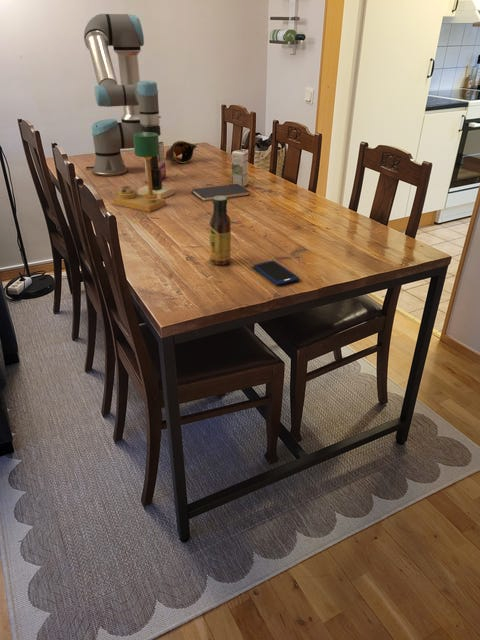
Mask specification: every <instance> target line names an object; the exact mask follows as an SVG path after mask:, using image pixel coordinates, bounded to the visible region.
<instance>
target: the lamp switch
mask: <svg viewBox="0 0 480 640" xmlns="http://www.w3.org/2000/svg"><path fill="white" fill-rule="evenodd" d="M132 190H133V187H132V186H130V185H129V186H122V187H121V191H122V194H131V193H132Z"/></svg>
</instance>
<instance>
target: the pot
mask: <svg viewBox="0 0 480 640" xmlns="http://www.w3.org/2000/svg"><path fill="white" fill-rule="evenodd" d="M197 146H199V143H191V142H187V141H184V140H178V141H175V142H173V143H172V145H171V146H170V148H168V149H167V150H166V152H165V158H166V159H169V160H170V161H172V162H174V161H176V162H177V163H179V164H185V163H189V162H190V161H191V160H192V158H193V156H194V150H195V149H196V148H197ZM179 156H181V159H177V157H179Z"/></svg>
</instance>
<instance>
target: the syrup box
mask: <svg viewBox="0 0 480 640" xmlns="http://www.w3.org/2000/svg"><path fill="white" fill-rule="evenodd" d="M231 184H239V185H240V186H242V187H244V188H245V187H246V186H247V185H249V151H246V150H239V149H237V150H233V151H232V152H231Z"/></svg>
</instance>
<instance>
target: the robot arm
mask: <svg viewBox="0 0 480 640" xmlns="http://www.w3.org/2000/svg"><path fill="white" fill-rule="evenodd" d="M83 31H84V32H83V40H84V44H85V47H86V48H87V50H89V54H90V58H91V61H92V66H93V69H94V74H95V78H96V83H97V85H95V86H94V97H95V102H96V105H97V106H98V107H104V108H105V107H107V108H109V107H110V108H111V107H122V108H123V114H122V116H121V118H120V120H121V121H120V122H118V120H117V119H116V118H105V119H101V120H97V121H95V122H93V123H92V125H91V131H92V133H91V135H92V139H93V147H94V154H95V158H94V165H93V166H86V167H85V169H86V170H87V169H89V170H91V169H93V174H94V175H96V176H102V177H113V176H120V175H123V174H126V173H127V165H125V161H124V159H123V157H122V154H121V153H122V152H121V150H122V149H123V150H124V149H125V150H126V149H127V150H128V149H134V140H133V134H135V133H140V132H153V133H157V134H158V137H160V136H161V134H162V133H161V126H160V123H161V122H160V121H161V120H160V119H161V118H162V116H161V115H160V108H159V89H158V83H157V82H156V81H154V80H141V75H140V67H139V66H140V65H139V54H140V53H141V51H142V49H141V47H143V46H144V45H145V37H144V33H143V32H144V31H143V27H142V24H141V20H140V18H139V17H138V16H137V15H136V14H129V13H99V14H96V15H93V17H92V18H90V19H89V21H87V24H86V26H85V27H84V30H83ZM109 47H112V48H113V52H114V53H115V54H116V55H117V61H118V68H119V79H120V84H118V80H117V76H116V73H115V69H114V65H113V61H112V57H111V54H110V50H109ZM150 166H151V168H152V169H151V174H152V185H153V187H158V186H159V175H158V170H159V168H158V158H157V156H154V157H151V159H150Z"/></svg>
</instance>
